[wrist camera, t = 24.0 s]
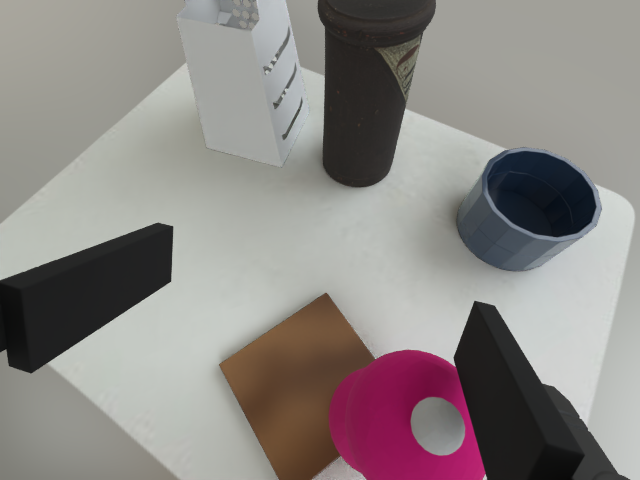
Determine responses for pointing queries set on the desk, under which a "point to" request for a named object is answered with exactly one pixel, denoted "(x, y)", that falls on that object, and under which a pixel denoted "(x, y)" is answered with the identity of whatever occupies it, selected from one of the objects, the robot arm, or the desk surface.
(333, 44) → the container
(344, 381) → the pepper mill
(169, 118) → the desk surface
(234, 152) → the grater
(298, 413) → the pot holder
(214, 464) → the desk surface
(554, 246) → the pot
